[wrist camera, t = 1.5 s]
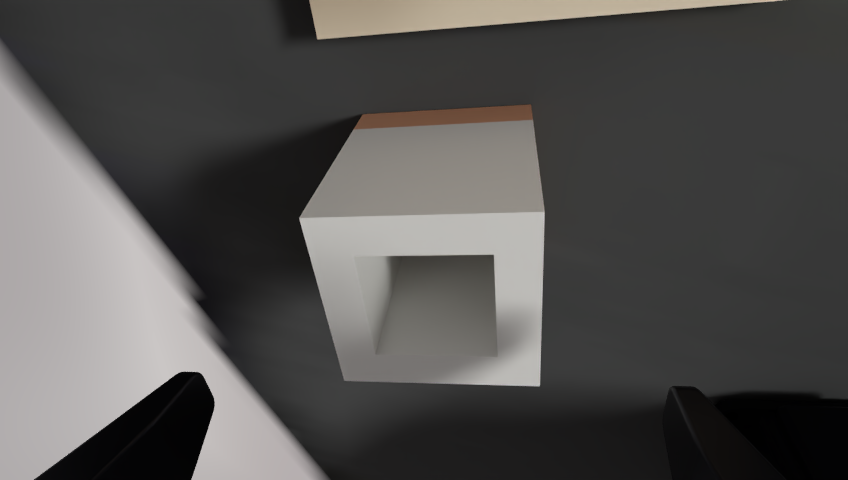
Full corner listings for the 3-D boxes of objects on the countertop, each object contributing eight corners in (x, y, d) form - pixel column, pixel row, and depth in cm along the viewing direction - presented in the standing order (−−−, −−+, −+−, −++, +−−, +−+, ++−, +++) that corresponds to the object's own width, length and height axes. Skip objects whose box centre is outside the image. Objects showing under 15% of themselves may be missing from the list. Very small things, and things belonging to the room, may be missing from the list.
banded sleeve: (529, 247, 18) (539, 386, 13) (386, 249, 18) (344, 380, 14) (530, 104, 15) (544, 211, 10) (362, 114, 16) (298, 217, 11)
